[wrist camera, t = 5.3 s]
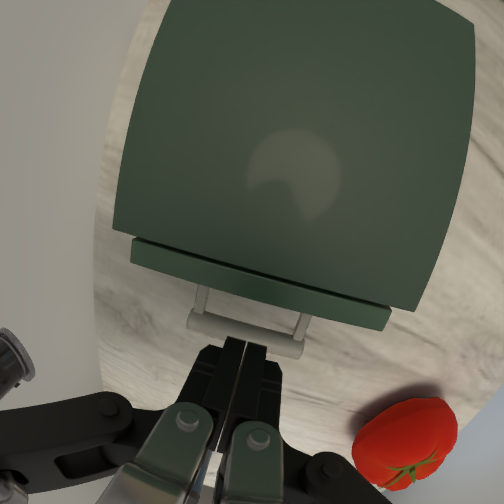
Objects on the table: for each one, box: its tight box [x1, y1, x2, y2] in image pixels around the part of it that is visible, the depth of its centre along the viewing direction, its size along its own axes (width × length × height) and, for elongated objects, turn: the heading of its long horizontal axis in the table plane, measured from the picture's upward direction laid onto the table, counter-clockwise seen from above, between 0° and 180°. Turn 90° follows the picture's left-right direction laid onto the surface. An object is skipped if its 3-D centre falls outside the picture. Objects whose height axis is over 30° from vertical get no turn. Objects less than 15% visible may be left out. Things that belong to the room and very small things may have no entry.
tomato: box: [352, 397, 458, 491], centre depth 21 cm, size 13×12×8 cm
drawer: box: [130, 237, 392, 359], centre depth 15 cm, size 18×12×8 cm
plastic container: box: [186, 450, 212, 504], centre depth 25 cm, size 5×5×9 cm
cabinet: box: [112, 0, 475, 312], centre depth 13 cm, size 15×14×10 cm
